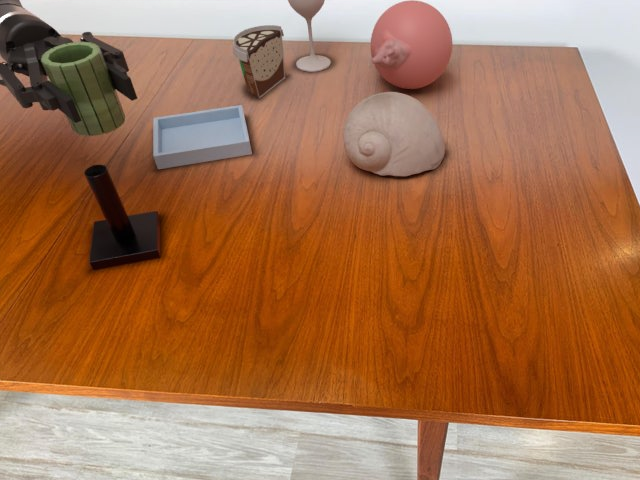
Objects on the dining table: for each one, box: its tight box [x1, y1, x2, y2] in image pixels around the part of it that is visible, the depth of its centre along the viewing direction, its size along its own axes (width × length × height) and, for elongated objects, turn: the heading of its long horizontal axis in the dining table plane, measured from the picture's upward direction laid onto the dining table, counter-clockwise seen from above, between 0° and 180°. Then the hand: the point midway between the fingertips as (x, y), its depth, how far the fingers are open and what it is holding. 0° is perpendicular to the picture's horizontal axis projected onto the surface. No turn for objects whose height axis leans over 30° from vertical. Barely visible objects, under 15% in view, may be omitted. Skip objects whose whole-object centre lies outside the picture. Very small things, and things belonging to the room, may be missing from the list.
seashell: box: [342, 91, 446, 177], centre depth 95 cm, size 15×14×15 cm
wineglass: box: [287, 0, 332, 73], centre depth 114 cm, size 8×8×21 cm
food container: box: [232, 24, 286, 100], centre depth 112 cm, size 12×6×10 cm, turn 154°
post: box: [83, 164, 161, 271], centre depth 79 cm, size 9×9×12 cm
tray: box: [152, 104, 253, 170], centre depth 101 cm, size 16×13×3 cm
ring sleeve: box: [41, 42, 126, 137], centre depth 71 cm, size 6×6×9 cm
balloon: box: [370, 0, 453, 90], centre depth 108 cm, size 15×20×15 cm
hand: (103, 99), depth 68 cm, fingers closed on ring sleeve, 6 cm apart
